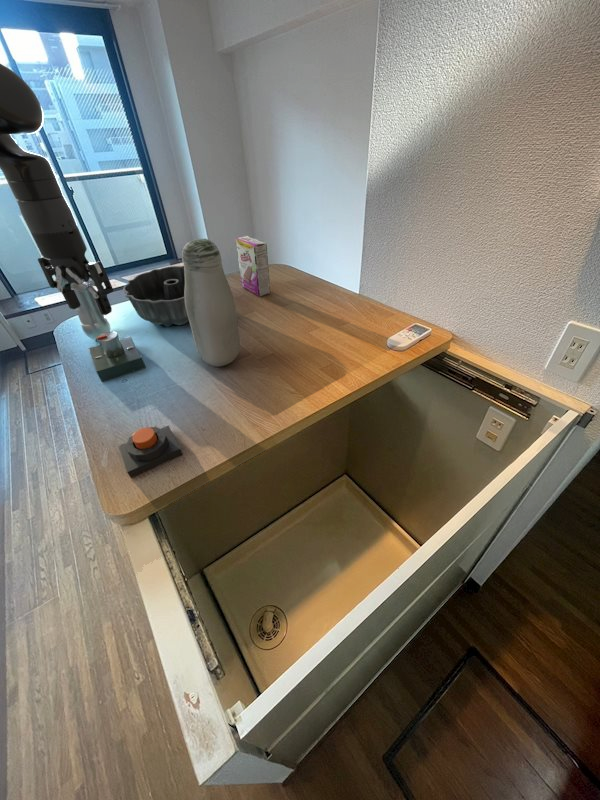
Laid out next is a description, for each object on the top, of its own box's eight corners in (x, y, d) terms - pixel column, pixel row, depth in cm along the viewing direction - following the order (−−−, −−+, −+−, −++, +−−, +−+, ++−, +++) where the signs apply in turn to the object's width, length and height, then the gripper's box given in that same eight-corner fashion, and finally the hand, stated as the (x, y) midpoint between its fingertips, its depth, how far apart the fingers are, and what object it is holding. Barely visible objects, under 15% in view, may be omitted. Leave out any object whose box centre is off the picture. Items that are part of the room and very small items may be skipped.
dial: (122, 345, 81) (114, 328, 78) (126, 353, 78) (118, 336, 75) (103, 351, 79) (94, 333, 76) (106, 359, 77) (97, 342, 74)
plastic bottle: (89, 332, 93) (53, 259, 80) (114, 328, 94) (83, 256, 81) (85, 343, 88) (46, 268, 75) (112, 339, 90) (78, 264, 77)
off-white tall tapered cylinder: (226, 377, 76) (201, 251, 57) (192, 366, 79) (158, 244, 61) (250, 356, 83) (234, 237, 64) (217, 346, 86) (193, 231, 68)
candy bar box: (241, 287, 115) (234, 237, 105) (252, 284, 118) (247, 235, 107) (259, 297, 109) (254, 245, 98) (271, 293, 111) (267, 242, 101)
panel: (146, 367, 79) (141, 356, 77) (101, 382, 75) (95, 371, 73) (134, 346, 87) (130, 335, 85) (93, 358, 83) (87, 347, 81)
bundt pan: (182, 342, 88) (172, 308, 81) (115, 322, 97) (101, 289, 90) (239, 304, 105) (235, 273, 99) (177, 290, 115) (170, 260, 108)
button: (138, 452, 55) (134, 446, 54) (133, 439, 57) (129, 432, 56) (159, 443, 57) (156, 436, 55) (154, 431, 59) (151, 424, 58)
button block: (130, 478, 55) (123, 465, 53) (121, 451, 59) (114, 439, 57) (182, 454, 59) (177, 441, 56) (170, 431, 63) (165, 418, 61)
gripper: (5, 228, 58) (50, 313, 68) (65, 234, 54) (104, 323, 65) (43, 219, 63) (80, 299, 74) (100, 224, 60) (130, 308, 70)
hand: (91, 310), depth 69 cm, fingers open, 8 cm apart
